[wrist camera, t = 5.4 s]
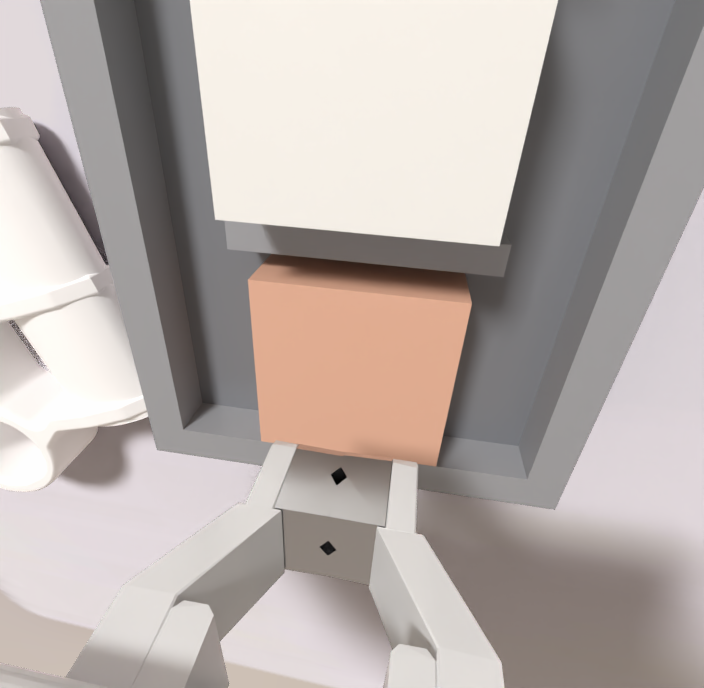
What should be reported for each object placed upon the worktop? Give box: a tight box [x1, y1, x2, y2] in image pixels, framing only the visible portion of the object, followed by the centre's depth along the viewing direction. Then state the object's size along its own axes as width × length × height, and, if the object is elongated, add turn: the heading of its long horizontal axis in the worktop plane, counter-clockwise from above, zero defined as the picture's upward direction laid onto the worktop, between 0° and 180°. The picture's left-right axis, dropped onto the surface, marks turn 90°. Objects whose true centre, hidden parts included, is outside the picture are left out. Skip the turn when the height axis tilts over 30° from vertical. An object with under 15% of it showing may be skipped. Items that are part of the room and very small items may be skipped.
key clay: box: [248, 254, 472, 466], centre depth 13 cm, size 6×6×2 cm
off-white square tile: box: [190, 0, 558, 246], centre depth 8 cm, size 6×6×2 cm
